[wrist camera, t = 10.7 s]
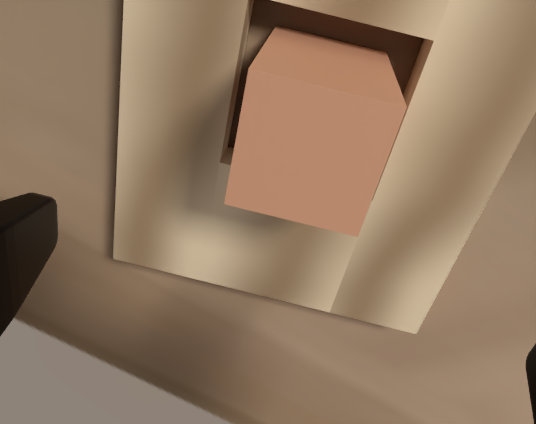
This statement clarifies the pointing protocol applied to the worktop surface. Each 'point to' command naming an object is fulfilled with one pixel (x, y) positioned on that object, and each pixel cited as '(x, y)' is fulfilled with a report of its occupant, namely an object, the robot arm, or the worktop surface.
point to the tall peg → (314, 130)
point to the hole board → (391, 181)
